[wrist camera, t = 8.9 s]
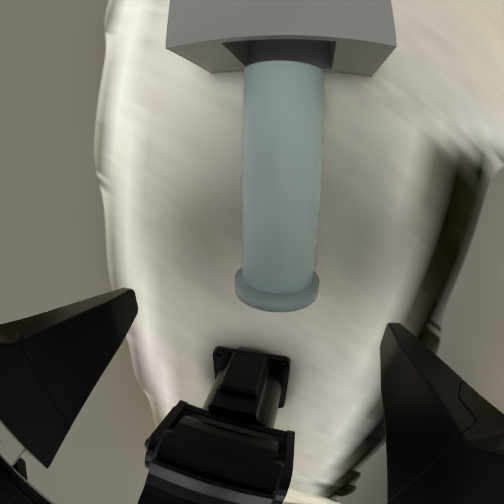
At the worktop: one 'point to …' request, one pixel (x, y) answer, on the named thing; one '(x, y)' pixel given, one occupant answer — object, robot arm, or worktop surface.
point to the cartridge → (281, 184)
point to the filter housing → (282, 33)
